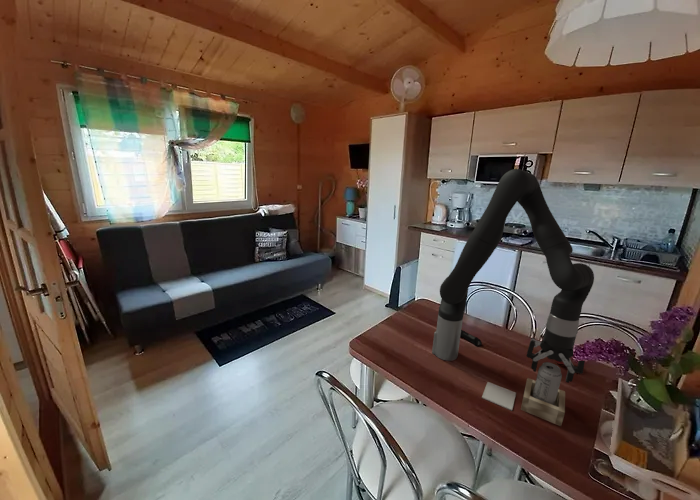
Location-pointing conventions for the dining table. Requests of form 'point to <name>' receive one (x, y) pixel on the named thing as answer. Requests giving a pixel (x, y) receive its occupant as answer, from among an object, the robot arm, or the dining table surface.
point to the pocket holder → (543, 405)
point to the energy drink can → (547, 383)
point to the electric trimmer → (471, 338)
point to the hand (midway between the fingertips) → (550, 375)
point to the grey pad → (499, 395)
